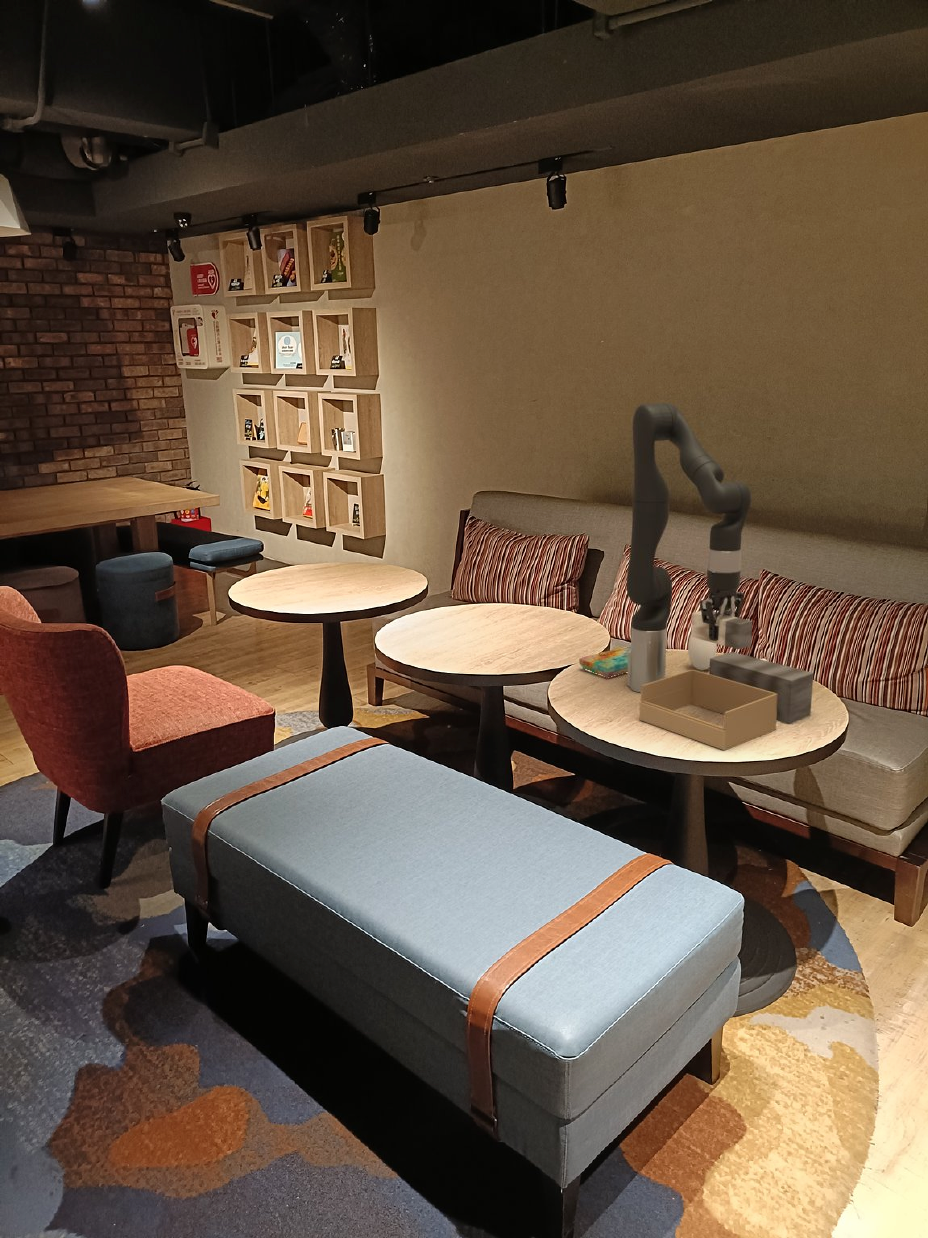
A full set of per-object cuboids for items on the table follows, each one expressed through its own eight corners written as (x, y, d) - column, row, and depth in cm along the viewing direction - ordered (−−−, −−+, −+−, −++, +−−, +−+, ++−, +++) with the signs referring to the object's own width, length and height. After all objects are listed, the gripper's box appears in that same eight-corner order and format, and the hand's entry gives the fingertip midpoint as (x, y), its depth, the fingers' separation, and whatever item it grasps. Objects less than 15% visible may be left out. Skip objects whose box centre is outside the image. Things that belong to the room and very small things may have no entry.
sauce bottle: (683, 671, 264) (685, 609, 259) (693, 663, 270) (695, 604, 266) (709, 675, 260) (712, 613, 255) (719, 667, 266) (722, 607, 261)
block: (691, 636, 225) (692, 613, 223) (703, 633, 227) (704, 609, 226) (738, 649, 214) (740, 624, 212) (750, 645, 216) (752, 621, 215)
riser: (708, 698, 241) (709, 658, 238) (729, 691, 246) (731, 651, 243) (788, 724, 222) (791, 680, 220) (810, 715, 228) (813, 673, 225)
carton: (639, 720, 227) (640, 685, 225) (691, 702, 239) (692, 669, 236) (723, 750, 208) (725, 713, 206) (775, 729, 219) (778, 693, 217)
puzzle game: (579, 655, 266) (628, 643, 277) (579, 671, 267) (628, 658, 278) (608, 665, 257) (657, 651, 268) (607, 681, 258) (657, 667, 269)
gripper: (730, 561, 223) (726, 629, 227) (691, 569, 215) (688, 640, 219) (756, 566, 217) (752, 636, 221) (717, 574, 209) (713, 647, 213)
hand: (720, 637), depth 220 cm, fingers closed on block, 4 cm apart
